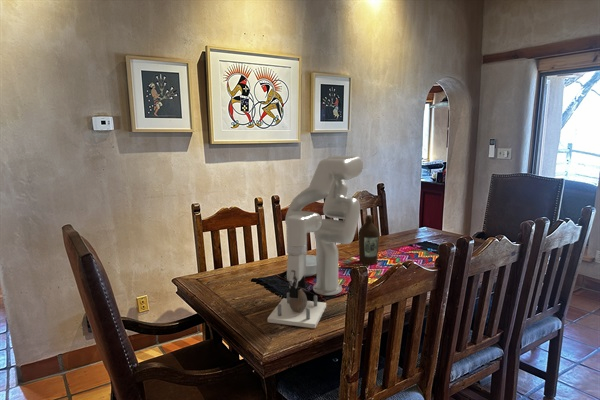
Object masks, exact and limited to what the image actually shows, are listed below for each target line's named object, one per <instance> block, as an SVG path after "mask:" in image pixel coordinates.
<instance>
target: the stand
mask: <svg viewBox="0 0 600 400" xmlns="http://www.w3.org/2000/svg"><path fill="white" fill-rule="evenodd" d="M289 297H290V292H289V291H288V292H286V298H285V297H283V298H282V299H281V300H280V302H279V303H277V306H276V307H275V308H274V309H273V310H272V312H271V313H270V314H269V316H267V323H273V324H279V325H287V326H295V327H303V328H309V329H310V328H311V329H316V327H317V326H318V324H319V322H320V320H321V318H322V316H323V314H324V312H325V310H326V308H327V302H321V301H318V294H317V295H316V294H314V295H313V300H312V301H311V300H307V306H306V308H305V309H304V310H303V311H301V312H295V311H293V310H292V309H291V308H290V305H289Z"/></svg>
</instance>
